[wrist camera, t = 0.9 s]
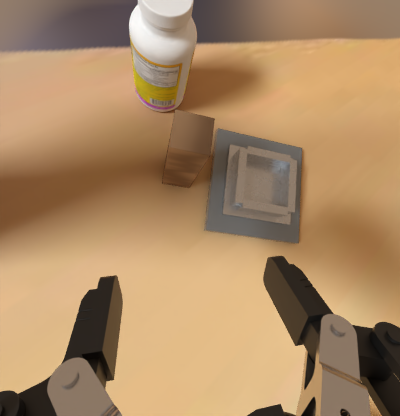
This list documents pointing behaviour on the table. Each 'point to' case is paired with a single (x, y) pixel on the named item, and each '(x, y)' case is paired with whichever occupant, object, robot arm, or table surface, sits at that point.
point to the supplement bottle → (162, 51)
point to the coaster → (216, 190)
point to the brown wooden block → (187, 148)
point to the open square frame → (259, 185)
